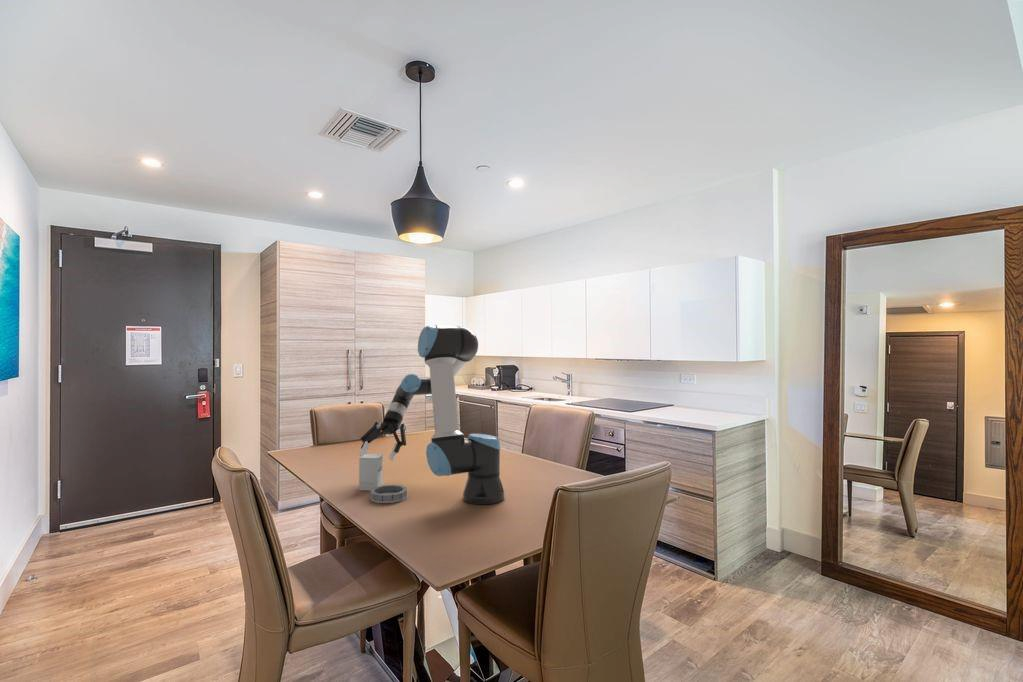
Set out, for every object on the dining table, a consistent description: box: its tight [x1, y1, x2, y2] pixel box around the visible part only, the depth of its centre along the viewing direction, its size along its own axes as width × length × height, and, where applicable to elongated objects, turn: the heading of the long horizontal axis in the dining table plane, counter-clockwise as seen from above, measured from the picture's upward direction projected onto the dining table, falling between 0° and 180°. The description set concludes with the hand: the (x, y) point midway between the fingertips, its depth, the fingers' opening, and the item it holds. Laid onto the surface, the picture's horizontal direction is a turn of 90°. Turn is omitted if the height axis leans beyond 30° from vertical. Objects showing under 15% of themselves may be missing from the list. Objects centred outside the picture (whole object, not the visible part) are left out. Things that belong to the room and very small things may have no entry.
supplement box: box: [358, 453, 384, 491], centre depth 188 cm, size 7×7×13 cm
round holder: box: [369, 484, 408, 504], centre depth 176 cm, size 13×13×3 cm
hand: (375, 458), depth 193 cm, fingers open, 13 cm apart
